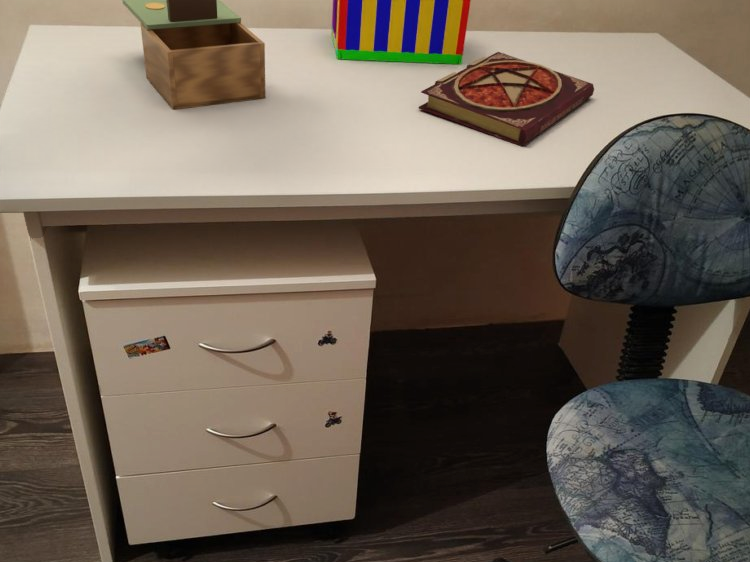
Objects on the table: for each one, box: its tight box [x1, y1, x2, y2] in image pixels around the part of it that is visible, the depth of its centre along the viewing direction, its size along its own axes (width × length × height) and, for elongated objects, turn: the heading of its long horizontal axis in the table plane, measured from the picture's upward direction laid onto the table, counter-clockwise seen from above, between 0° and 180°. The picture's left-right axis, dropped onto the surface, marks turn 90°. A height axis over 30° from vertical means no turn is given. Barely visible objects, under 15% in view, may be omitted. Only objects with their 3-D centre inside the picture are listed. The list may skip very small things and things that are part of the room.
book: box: [418, 51, 595, 147], centre depth 141 cm, size 28×21×5 cm
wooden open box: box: [139, 22, 266, 110], centre depth 133 cm, size 16×14×9 cm
